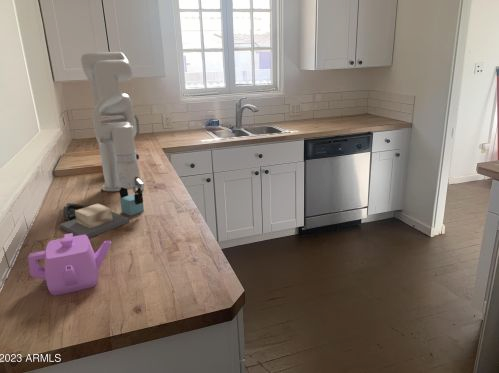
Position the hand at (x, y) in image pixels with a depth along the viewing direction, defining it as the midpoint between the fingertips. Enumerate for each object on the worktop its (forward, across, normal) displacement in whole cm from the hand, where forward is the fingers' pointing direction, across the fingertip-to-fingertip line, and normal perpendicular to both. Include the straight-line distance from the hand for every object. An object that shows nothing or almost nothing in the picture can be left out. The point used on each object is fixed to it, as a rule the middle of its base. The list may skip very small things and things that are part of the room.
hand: (131, 201), depth 153 cm
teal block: (+5, -1, 0) cm, 5 cm away
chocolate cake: (+5, -14, -15) cm, 21 cm away
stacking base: (+5, -1, -16) cm, 16 cm away
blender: (+3, -55, +35) cm, 65 cm away
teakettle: (+6, +29, -39) cm, 49 cm away
